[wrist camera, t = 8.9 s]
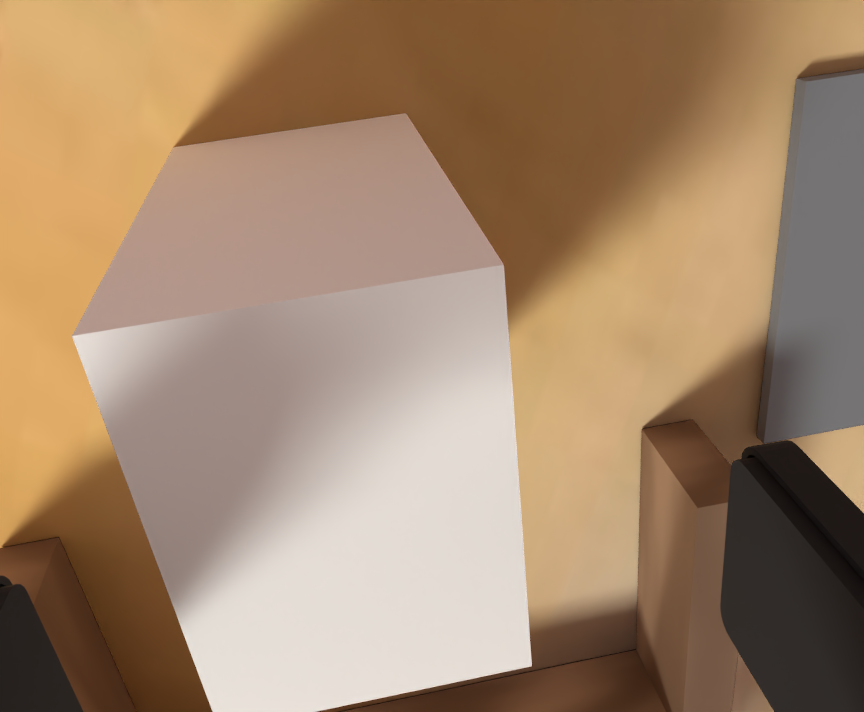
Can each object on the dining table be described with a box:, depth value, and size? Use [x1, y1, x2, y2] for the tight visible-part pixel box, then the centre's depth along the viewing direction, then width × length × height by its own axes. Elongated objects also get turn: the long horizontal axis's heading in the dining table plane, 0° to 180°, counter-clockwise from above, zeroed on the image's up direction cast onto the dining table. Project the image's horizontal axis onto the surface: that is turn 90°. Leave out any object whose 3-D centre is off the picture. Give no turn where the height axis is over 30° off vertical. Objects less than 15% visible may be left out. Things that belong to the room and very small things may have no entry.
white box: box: [72, 113, 532, 712], centre depth 15 cm, size 5×7×9 cm
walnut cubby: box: [0, 420, 738, 712], centre depth 23 cm, size 19×10×4 cm, turn 96°
